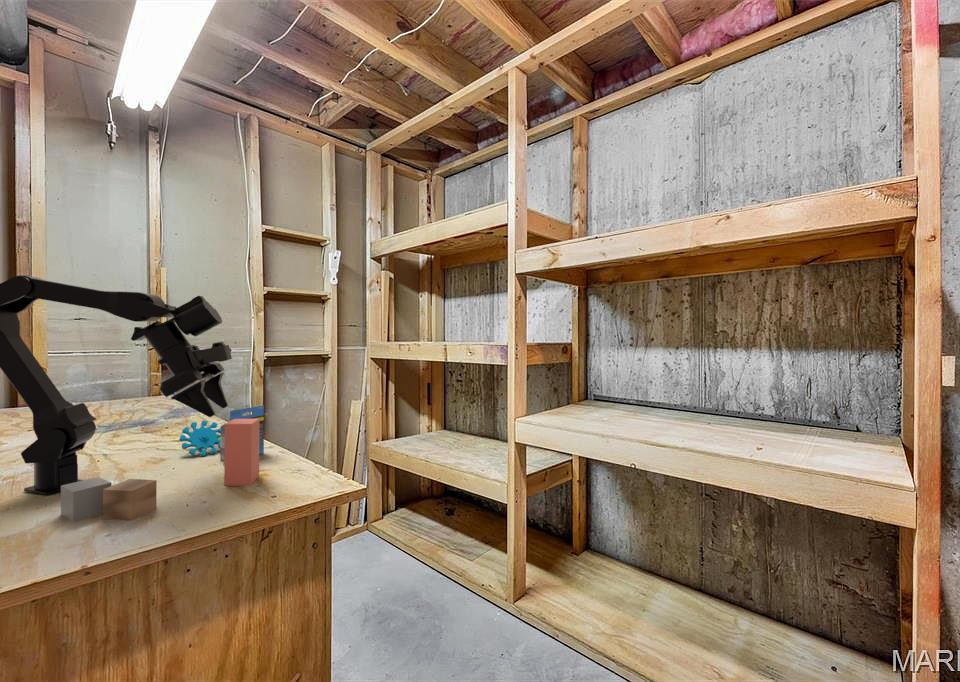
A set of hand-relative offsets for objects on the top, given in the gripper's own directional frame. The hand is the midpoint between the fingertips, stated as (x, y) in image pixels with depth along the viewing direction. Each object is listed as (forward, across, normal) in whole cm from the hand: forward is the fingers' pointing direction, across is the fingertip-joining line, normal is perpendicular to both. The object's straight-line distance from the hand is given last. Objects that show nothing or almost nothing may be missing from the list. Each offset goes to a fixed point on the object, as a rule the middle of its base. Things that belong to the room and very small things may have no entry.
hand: (219, 411), depth 90 cm
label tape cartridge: (+13, +14, +6) cm, 20 cm away
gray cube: (+3, -14, +21) cm, 26 cm away
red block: (+15, -3, +3) cm, 15 cm away
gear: (+8, +20, +14) cm, 26 cm away
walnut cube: (+7, -16, +15) cm, 23 cm away
